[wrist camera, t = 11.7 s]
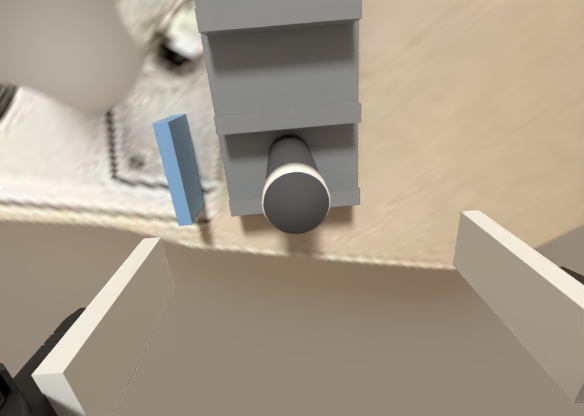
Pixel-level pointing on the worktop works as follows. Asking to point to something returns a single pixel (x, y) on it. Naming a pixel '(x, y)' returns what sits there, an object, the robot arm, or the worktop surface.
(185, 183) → the blue rectangular block
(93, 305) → the robot arm
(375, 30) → the worktop surface
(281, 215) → the grey banded cylinder
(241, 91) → the grey slotted rack
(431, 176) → the worktop surface
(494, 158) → the worktop surface
